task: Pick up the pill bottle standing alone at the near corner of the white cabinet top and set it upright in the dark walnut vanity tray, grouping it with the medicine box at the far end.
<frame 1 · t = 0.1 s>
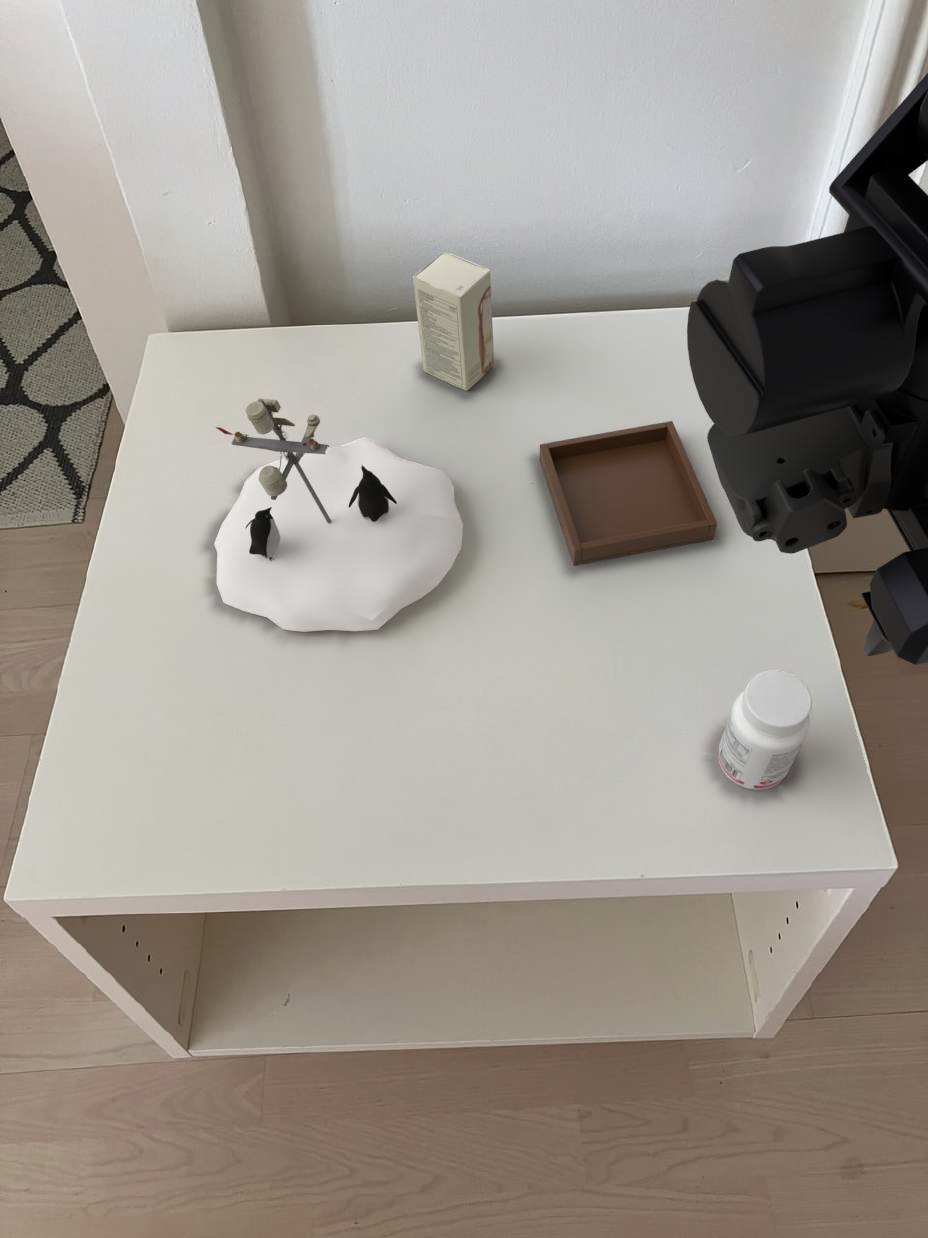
hand: (838, 580, 54), 18 cm above the table, tool pointing down, fingers open, 9 cm apart
medicine box: (458, 369, 91), on the table
vanity tray: (623, 498, 82), on the table
figurine: (339, 542, 81), on the table
pill bottle: (751, 760, 69), on the table
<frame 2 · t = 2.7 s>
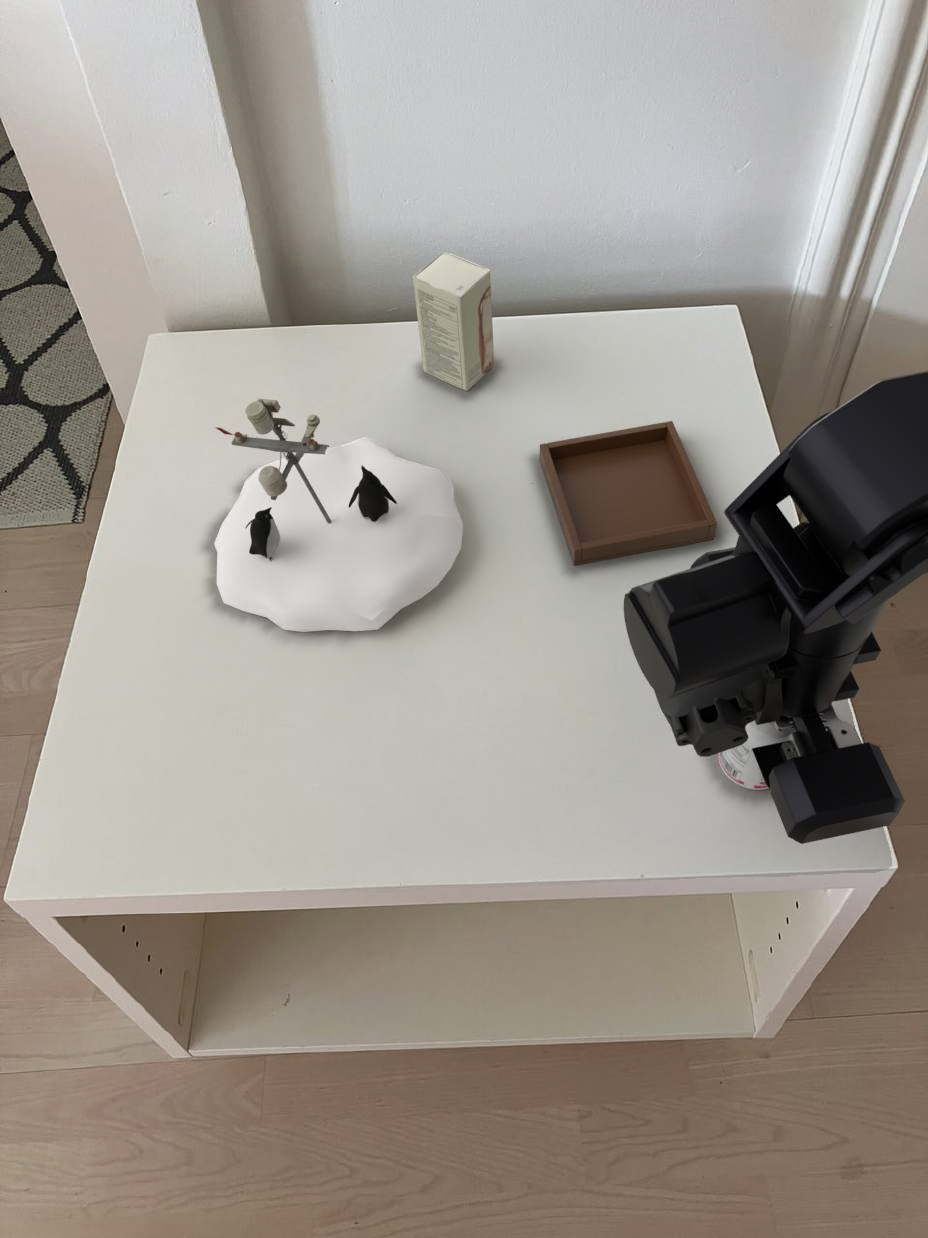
hand: (758, 745, 67), 2 cm above the table, tool pointing down, fingers closed on pill bottle, 5 cm apart
pill bottle: (751, 760, 69), on the table, touching gripper
everything else where it was.
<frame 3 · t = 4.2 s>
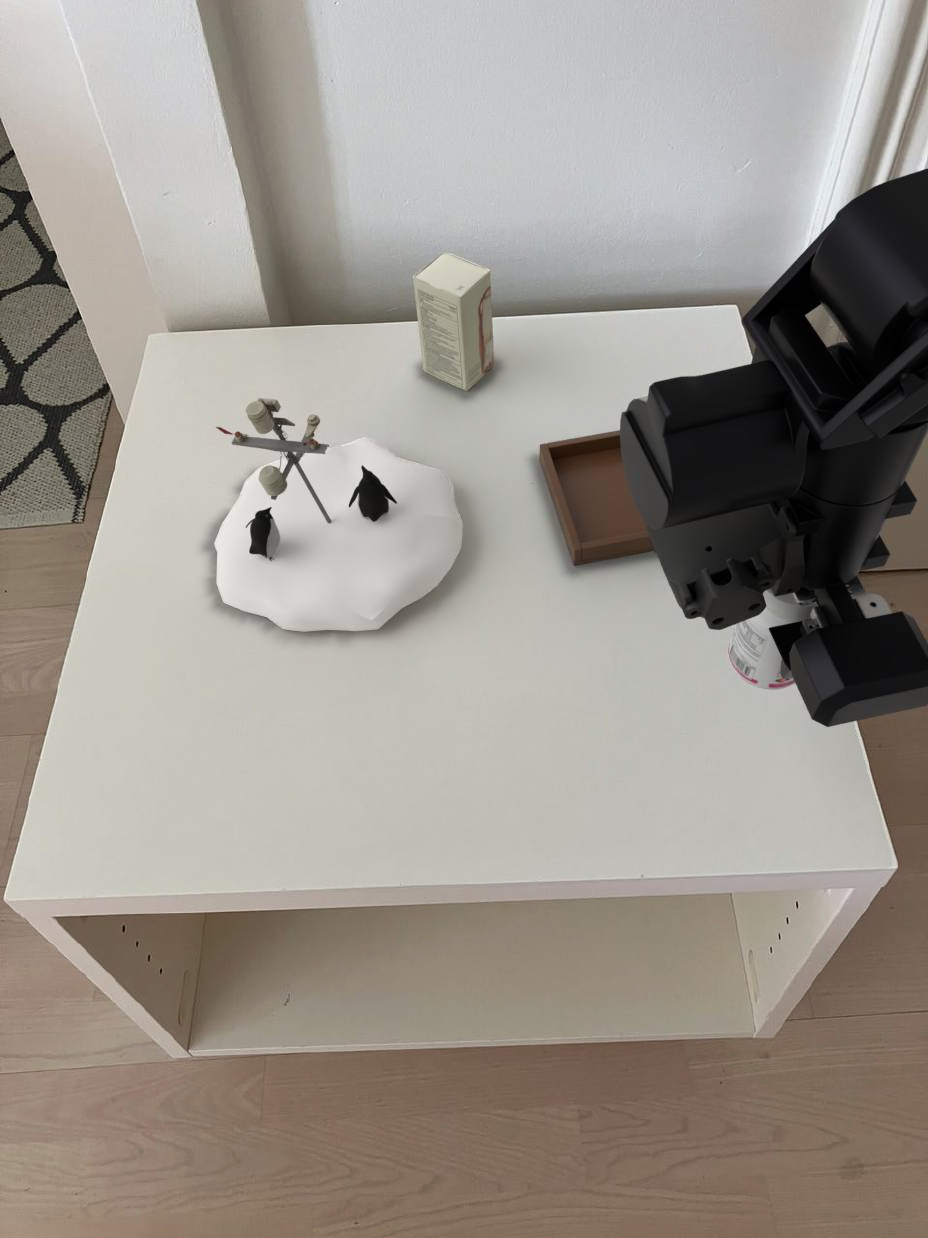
hand: (773, 639, 60), 12 cm above the table, tool pointing down, fingers closed on pill bottle, 5 cm apart
pill bottle: (765, 659, 62), point 9 cm above the table, touching gripper
everything else where it was.
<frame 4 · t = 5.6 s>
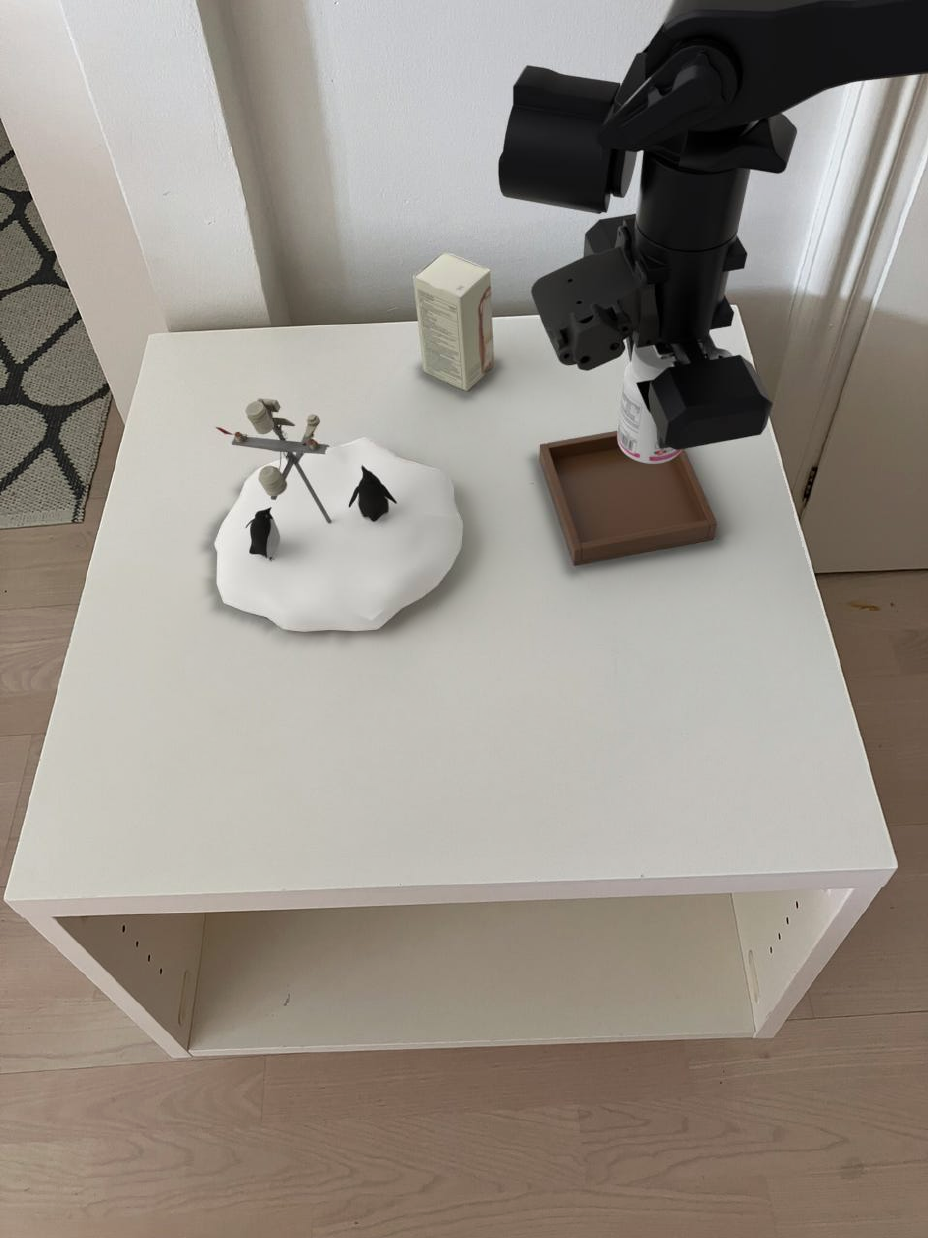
hand: (654, 419, 70), 12 cm above the table, tool pointing down, fingers closed on pill bottle, 5 cm apart
pill bottle: (650, 442, 72), point 10 cm above the table, touching gripper
everything else where it was.
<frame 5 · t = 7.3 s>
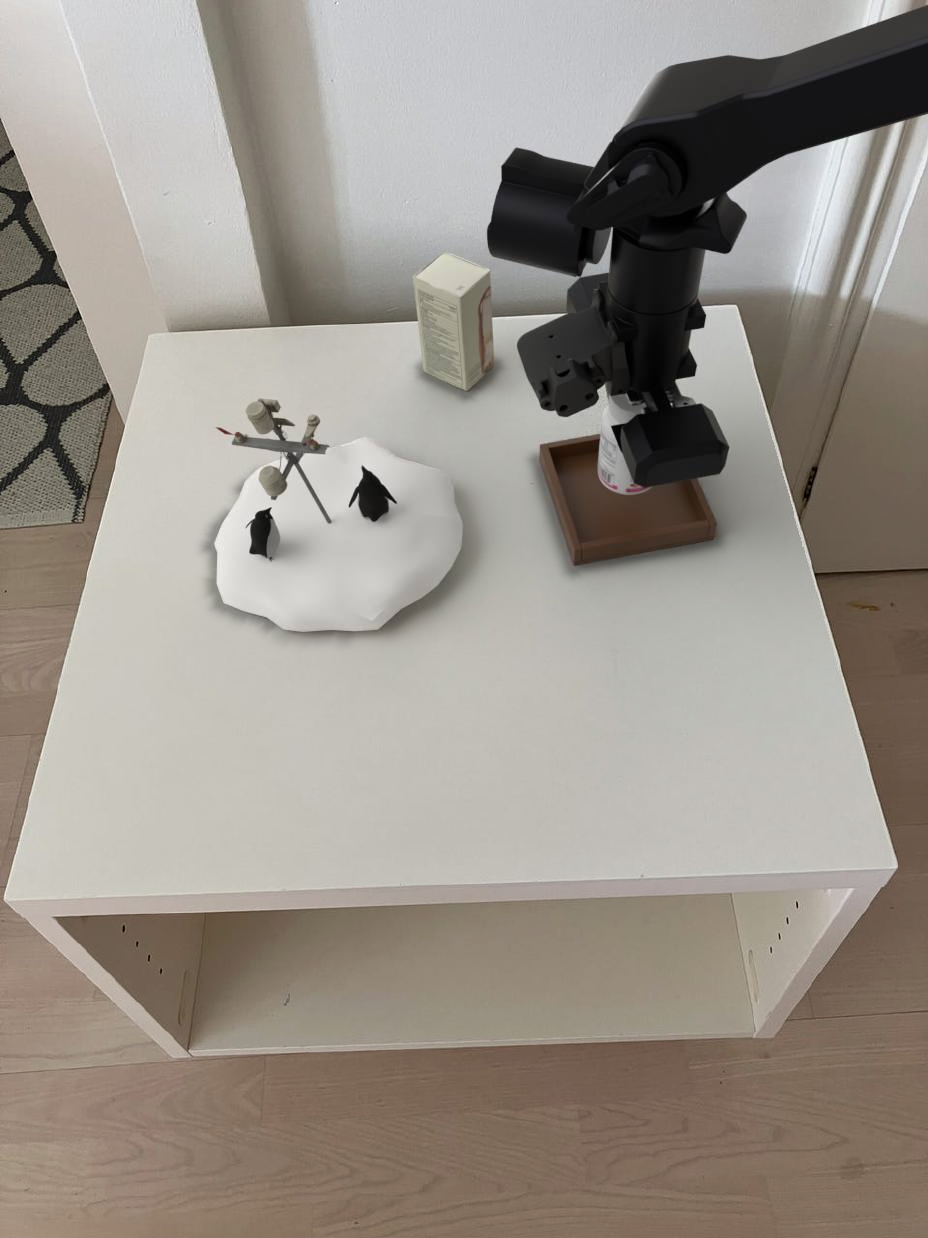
hand: (631, 455, 77), 5 cm above the table, tool pointing down, fingers closed on pill bottle, 5 cm apart
pill bottle: (627, 475, 79), point 3 cm above the table, touching gripper
everything else where it was.
when the fingers open (2 cm above the table, at t = 8.5 s): pill bottle stays where it is, resting on vanity tray.
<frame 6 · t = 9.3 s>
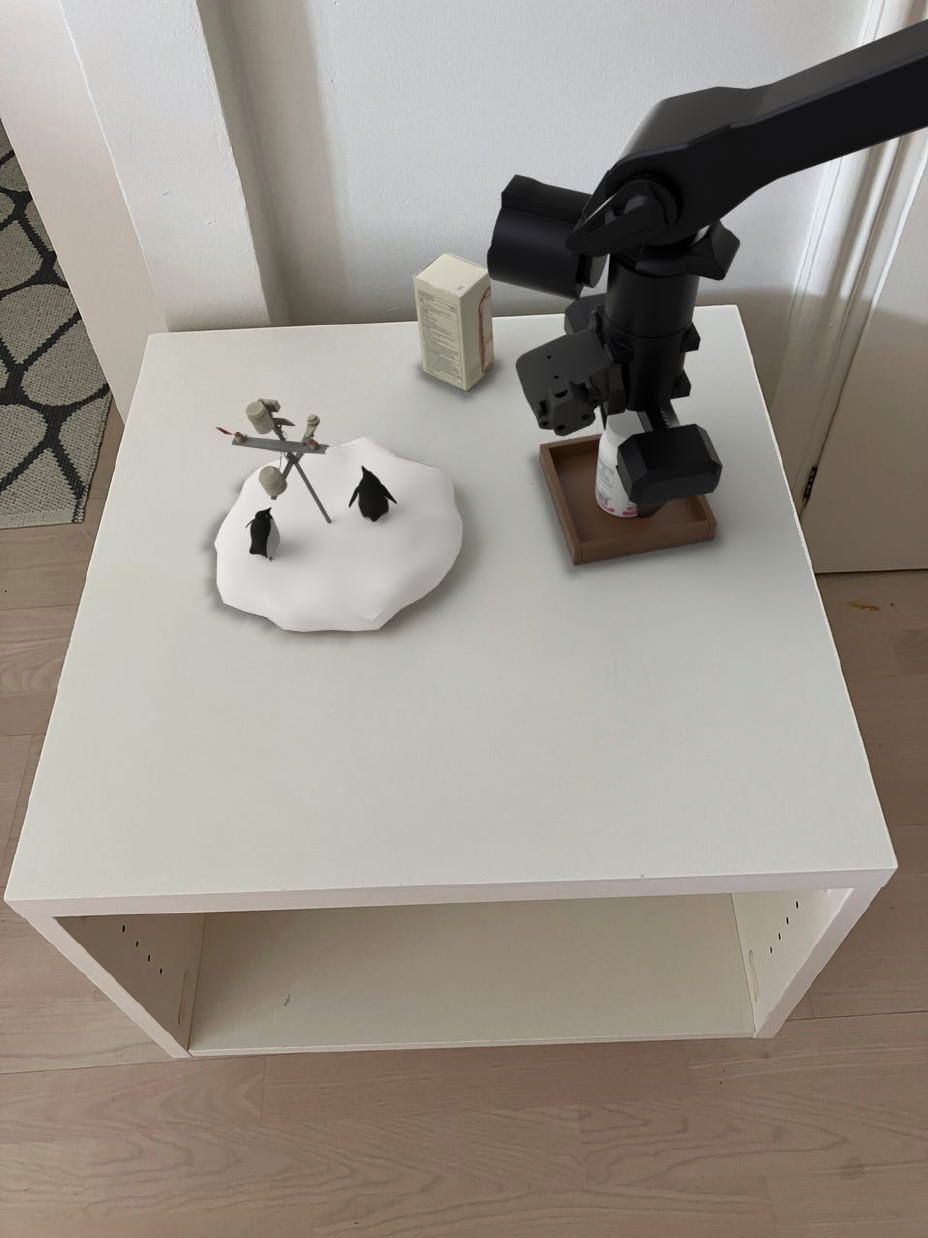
hand: (626, 471, 79), 3 cm above the table, tool pointing down, fingers open, 9 cm apart
pill bottle: (624, 497, 82), resting on vanity tray
everything else where it was.
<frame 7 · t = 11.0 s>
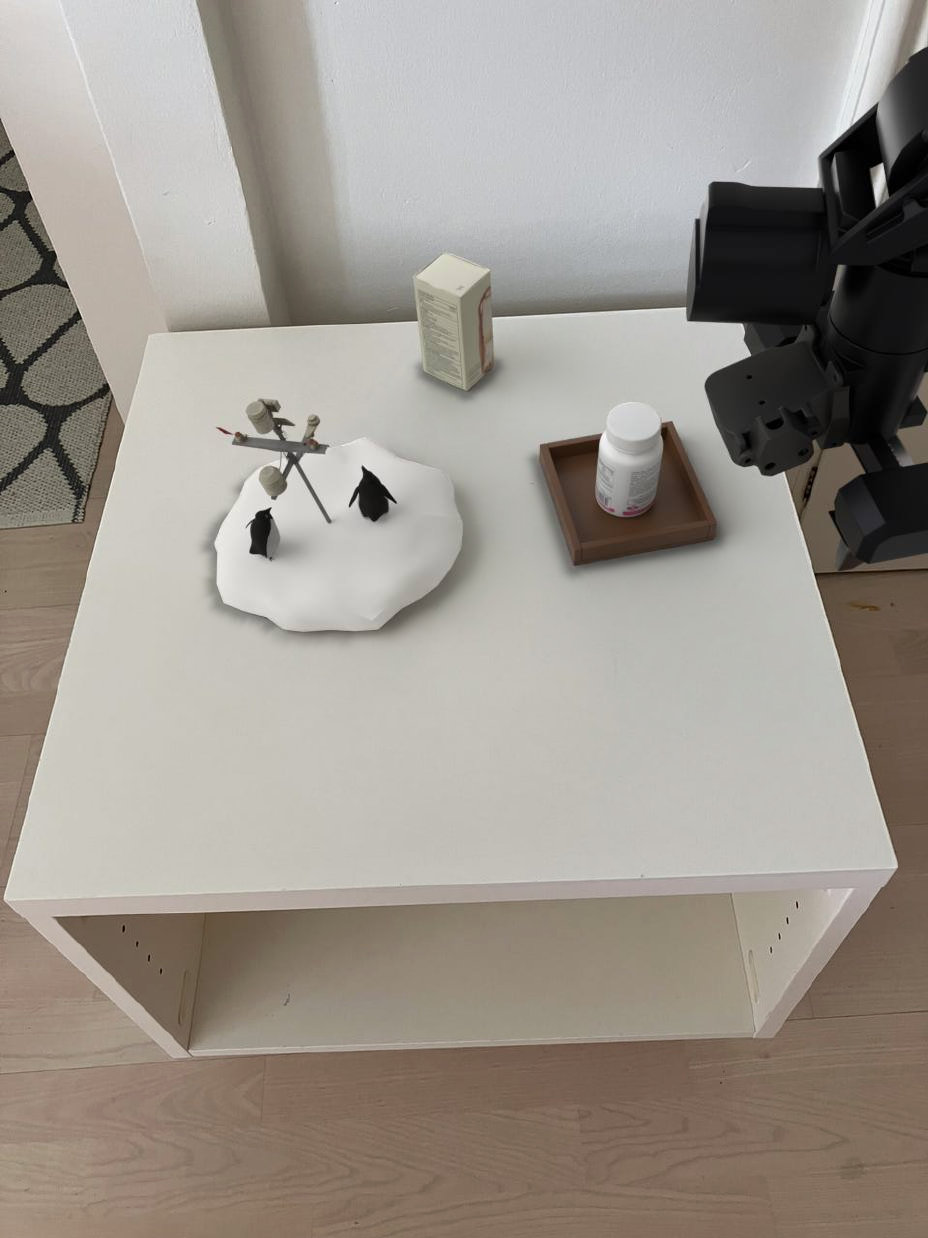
hand: (815, 511, 65), 12 cm above the table, tool pointing down, fingers open, 9 cm apart
nothing on the table moved.
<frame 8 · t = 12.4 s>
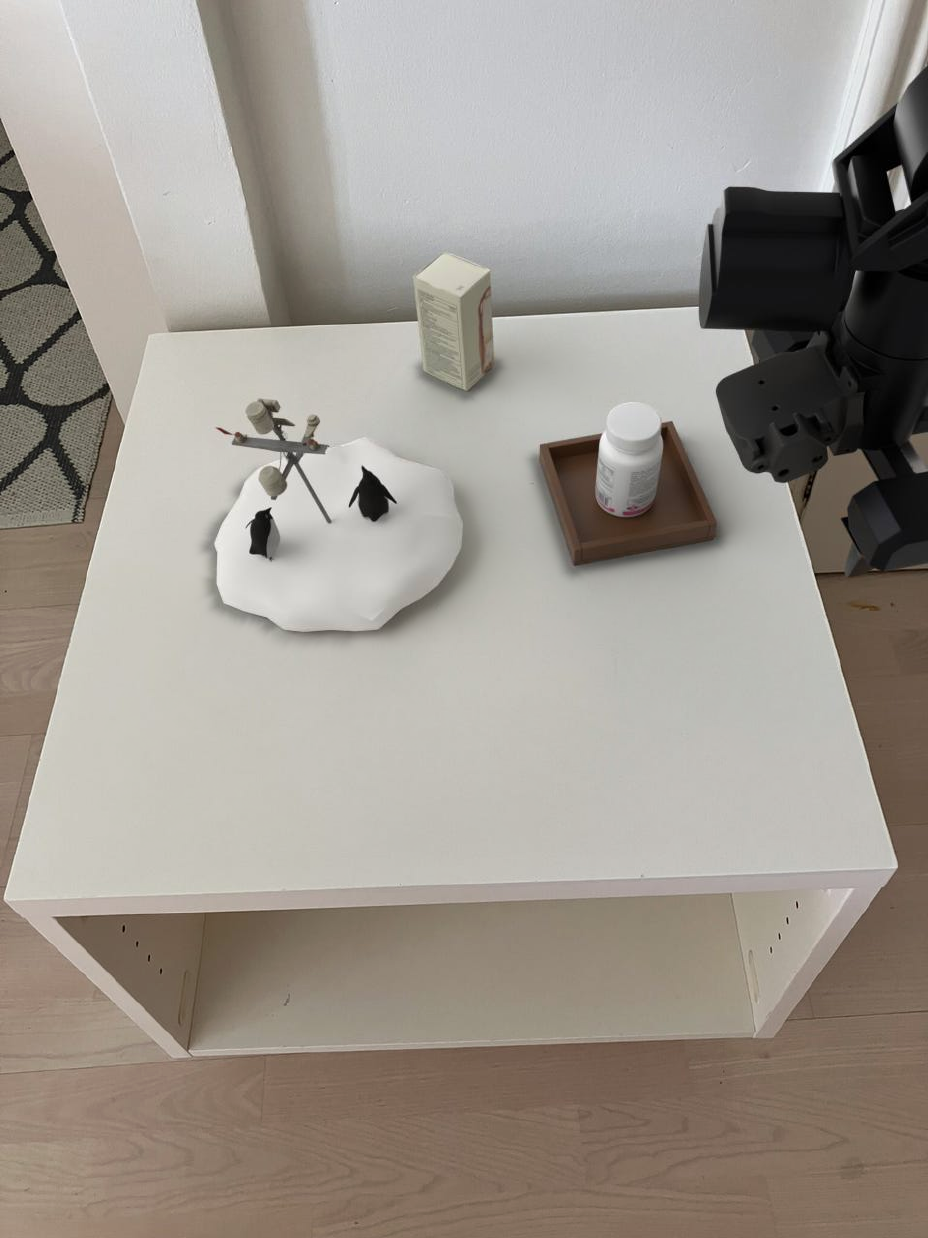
hand: (823, 517, 65), 12 cm above the table, tool pointing down, fingers open, 9 cm apart
nothing on the table moved.
at the end: pill bottle inside the target area in the vanity tray (0.1 cm from its centre), point 0.2 cm above the vanity tray's base; pill bottle tilted 0°; pill bottle 20.7 cm from the medicine box (horizontally) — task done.
